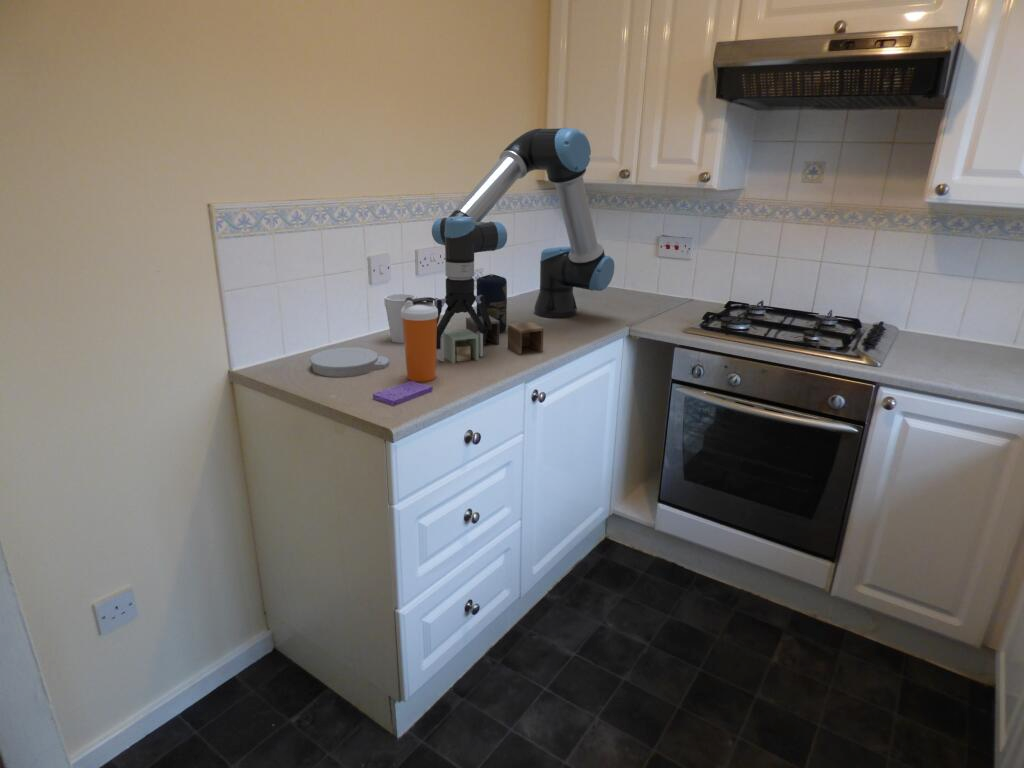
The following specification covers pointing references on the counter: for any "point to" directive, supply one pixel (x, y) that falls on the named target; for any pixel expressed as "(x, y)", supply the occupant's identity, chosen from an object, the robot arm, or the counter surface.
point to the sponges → (402, 393)
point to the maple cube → (462, 351)
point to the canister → (494, 297)
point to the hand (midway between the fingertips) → (460, 357)
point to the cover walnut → (525, 336)
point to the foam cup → (396, 315)
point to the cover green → (460, 337)
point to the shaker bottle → (420, 338)
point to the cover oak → (491, 334)
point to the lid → (347, 362)
